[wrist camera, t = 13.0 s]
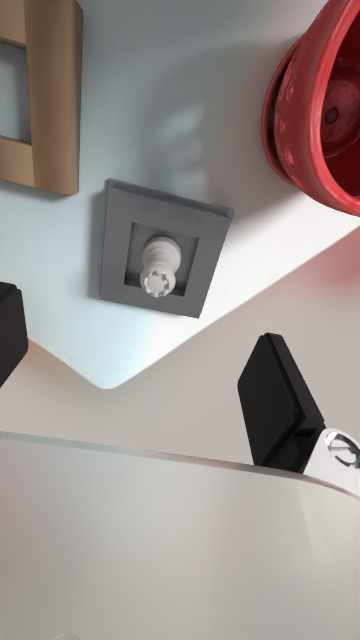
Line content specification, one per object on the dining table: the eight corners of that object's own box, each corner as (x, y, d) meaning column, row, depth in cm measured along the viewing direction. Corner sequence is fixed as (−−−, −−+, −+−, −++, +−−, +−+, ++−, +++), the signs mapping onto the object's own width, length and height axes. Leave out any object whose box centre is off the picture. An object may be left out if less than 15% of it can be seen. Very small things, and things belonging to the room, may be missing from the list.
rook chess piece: (149, 229, 29) (139, 253, 22) (187, 243, 30) (189, 271, 23) (137, 265, 31) (125, 298, 24) (173, 278, 32) (171, 313, 25)
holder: (233, 209, 28) (237, 214, 26) (200, 312, 35) (201, 322, 33) (109, 178, 27) (103, 180, 24) (100, 292, 33) (95, 301, 31)
